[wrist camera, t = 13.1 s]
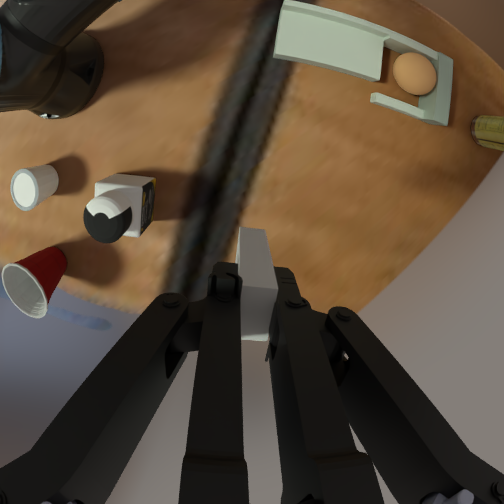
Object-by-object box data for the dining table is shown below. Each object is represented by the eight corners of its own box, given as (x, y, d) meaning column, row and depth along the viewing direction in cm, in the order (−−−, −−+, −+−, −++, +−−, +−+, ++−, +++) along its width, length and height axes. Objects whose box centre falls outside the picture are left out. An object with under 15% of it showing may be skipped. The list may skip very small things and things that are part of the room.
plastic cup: (31, 266, 46) (-2, 296, 35) (41, 224, 43) (3, 251, 32) (70, 294, 49) (42, 331, 38) (84, 254, 46) (51, 289, 35)
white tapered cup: (58, 158, 38) (34, 165, 32) (64, 197, 41) (41, 209, 35) (31, 164, 38) (7, 172, 32) (36, 201, 41) (14, 213, 34)
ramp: (269, 79, 36) (273, 73, 31) (280, 10, 31) (285, -3, 26) (429, 124, 38) (447, 126, 33) (436, 62, 33) (453, 59, 29)
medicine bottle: (153, 221, 44) (127, 253, 33) (113, 216, 43) (78, 245, 32) (156, 177, 41) (128, 196, 30) (114, 172, 40) (76, 190, 29)
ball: (430, 82, 34) (392, 71, 37) (438, 52, 28) (395, 39, 30) (432, 109, 33) (389, 96, 35) (441, 76, 27) (394, 62, 29)
